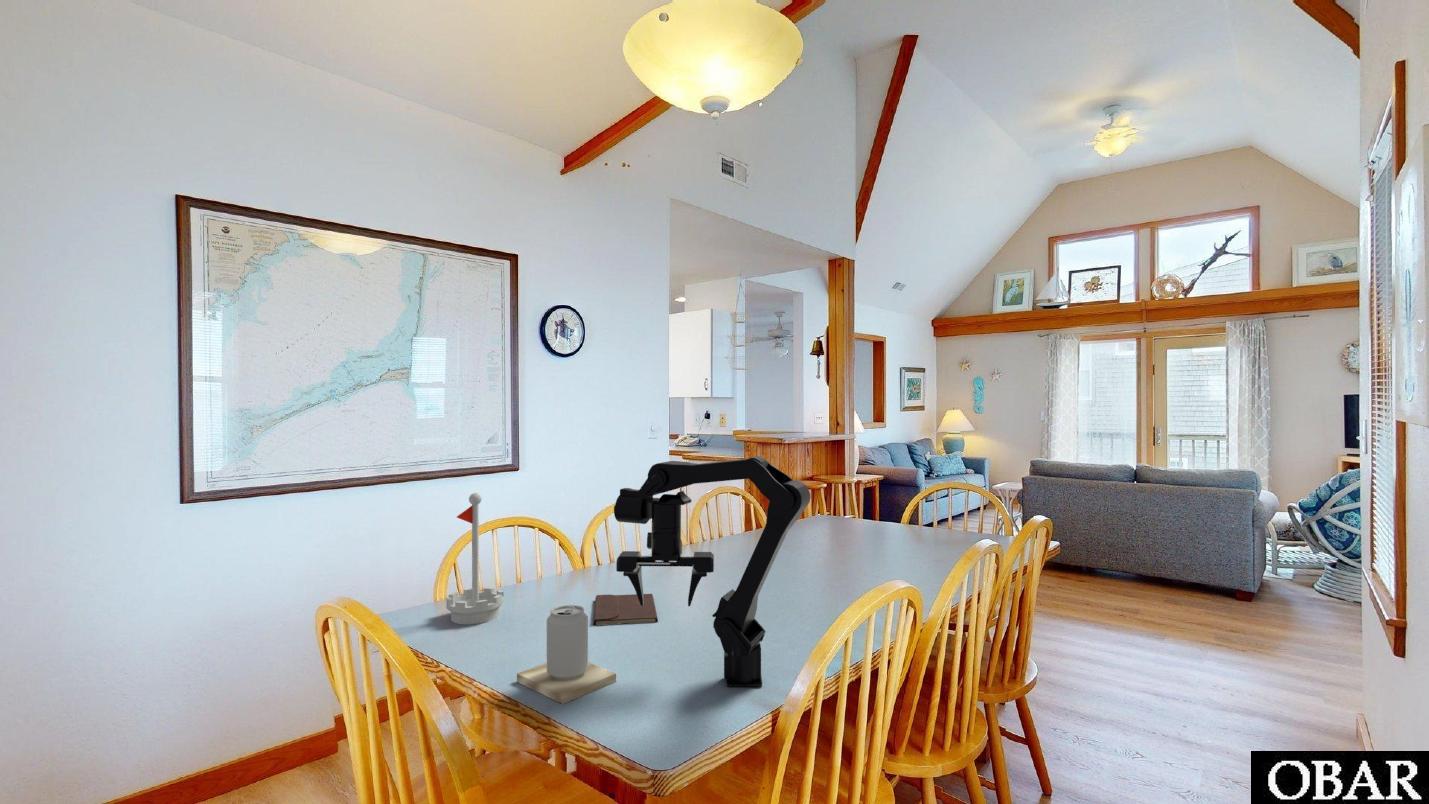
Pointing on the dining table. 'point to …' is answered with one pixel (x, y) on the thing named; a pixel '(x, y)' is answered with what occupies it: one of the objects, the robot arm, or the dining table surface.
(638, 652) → the dining table surface
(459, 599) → the flag stand
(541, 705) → the dining table surface
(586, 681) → the board
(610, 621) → the notebook
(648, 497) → the robot arm
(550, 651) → the can
